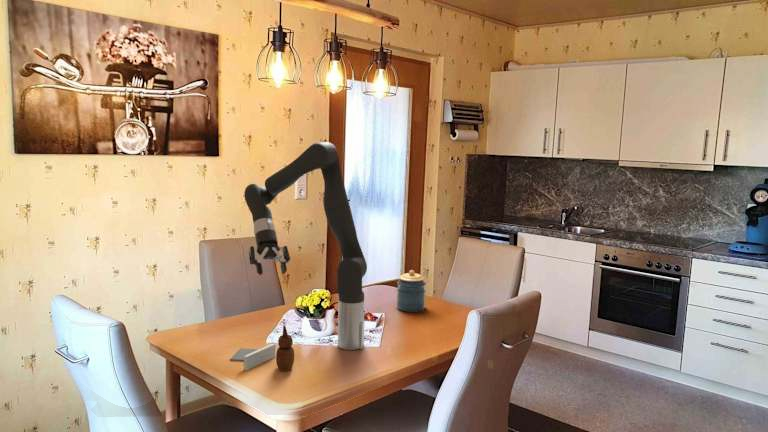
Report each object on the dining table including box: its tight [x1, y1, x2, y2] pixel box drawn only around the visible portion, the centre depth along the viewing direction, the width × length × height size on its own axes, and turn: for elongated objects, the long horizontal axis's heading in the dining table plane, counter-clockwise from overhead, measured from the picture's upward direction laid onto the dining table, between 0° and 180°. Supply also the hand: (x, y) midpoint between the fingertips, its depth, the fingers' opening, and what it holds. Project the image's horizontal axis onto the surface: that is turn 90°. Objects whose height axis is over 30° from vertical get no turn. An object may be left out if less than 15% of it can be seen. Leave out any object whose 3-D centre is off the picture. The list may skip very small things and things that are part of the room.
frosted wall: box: [243, 343, 276, 371], centre depth 188 cm, size 14×1×4 cm, turn 150°
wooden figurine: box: [275, 322, 295, 372], centre depth 183 cm, size 7×6×15 cm
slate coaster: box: [229, 347, 260, 362], centre depth 194 cm, size 10×10×1 cm
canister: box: [396, 269, 427, 313], centre depth 253 cm, size 13×13×18 cm
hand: (272, 273), depth 198 cm, fingers open, 8 cm apart
